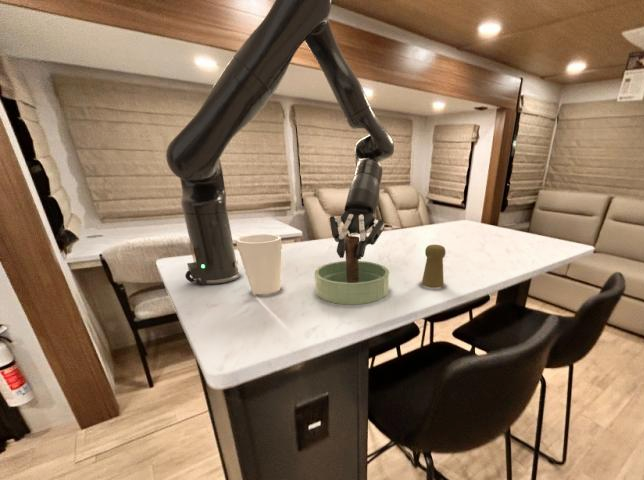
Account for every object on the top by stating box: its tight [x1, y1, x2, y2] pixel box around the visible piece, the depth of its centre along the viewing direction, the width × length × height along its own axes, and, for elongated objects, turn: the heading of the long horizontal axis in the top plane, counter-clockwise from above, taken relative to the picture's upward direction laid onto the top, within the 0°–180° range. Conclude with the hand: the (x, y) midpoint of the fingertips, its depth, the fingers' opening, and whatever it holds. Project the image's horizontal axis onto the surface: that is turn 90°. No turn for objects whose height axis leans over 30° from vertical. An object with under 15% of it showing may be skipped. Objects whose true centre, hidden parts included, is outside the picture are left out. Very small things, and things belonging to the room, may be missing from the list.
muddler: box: [344, 235, 361, 283], centre depth 74 cm, size 4×4×13 cm
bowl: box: [314, 260, 390, 306], centre depth 76 cm, size 18×18×6 cm
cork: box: [421, 244, 446, 289], centre depth 81 cm, size 6×6×11 cm
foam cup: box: [235, 233, 283, 297], centre depth 72 cm, size 10×9×13 cm
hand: (349, 256), depth 71 cm, fingers closed on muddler, 3 cm apart
